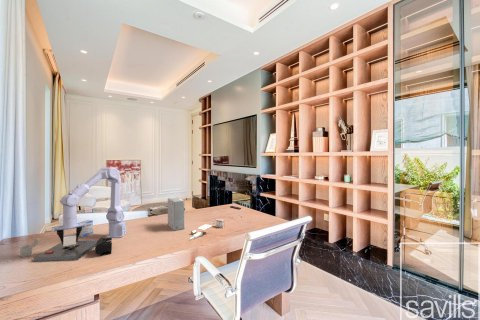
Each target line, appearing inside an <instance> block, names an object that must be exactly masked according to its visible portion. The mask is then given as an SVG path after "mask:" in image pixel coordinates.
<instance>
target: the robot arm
mask: <svg viewBox="0 0 480 320" xmlns="http://www.w3.org/2000/svg"><path fill="white" fill-rule="evenodd" d="M101 180H108V181H109V182H110V207H109V208H108V209H107V213H106V215H105V218H106V220H107V221H108V235H107V236H105V238H110V237H112V239H113V238H123V237H124V236H125V235H126V234H127V222H126V221H123V220H124V219H125V213H124V209H123V208H122V206H121V196H122V195H121V193H122V177H121V175H120V170H119V169H117V168H116V167H106V166H103V167H102V168H100V169H99V170H97V171H96V172H95V174H94V175H93V176H91V177H90V178H89V179H88V180H87V181H86V182H85V183H81V184H77V185H76V187H75V188H74V189H72V191H68V194H65V195H63V196H62V197H61V198H60V200H59V203H60V204H61V206H62V225H59V226H54V227H51V233H55V232H56V235H57V236H58V237H59V239H60V241H61V242H62V245H63V237H64V235H65V233H64V232H65V231H67V230H73V229H75V233H76V242H78V241H79V238H80V237H79V234H80V232H81V230H82V227H87V223H80V222H77V221H78V219H77V205H78V204H79V202H80V200H81V199H82V198H83V197H84V196H86V194H88V193H89V191H90V188H92V187H93V186H94V185H95V184H97V183H98V182H100V181H101ZM61 242H60V243H61Z"/></svg>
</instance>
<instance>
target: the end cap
mask: <svg viewBox="0 0 480 320" xmlns="http://www.w3.org/2000/svg"><path fill="white" fill-rule="evenodd" d="M97 240H98V241H97V243H96V247H95V248H94V252H95V253H96V255H98V256H100V257H104V256H108V255H109V256H110V255H111V254H112V250H113V242H112V241H113V238H112V237H110V238H106V237H105V238H104V236H101V237H100V238H98V239H97Z"/></svg>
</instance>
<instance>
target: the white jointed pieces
mask: <svg viewBox="0 0 480 320" xmlns="http://www.w3.org/2000/svg"><path fill="white" fill-rule="evenodd" d="M212 224H213V225H215V226H216V228H220V229H224V228H225V220H224V219H221V218H220V219H219V218H216V219H215V221H212ZM213 225H211V224H208V223H205V224H203V225H201V226H199V227H197V229H198V230H201V231H198V232H197V230H196V229H193V230H191V231H190V234H191V235H192V236H191V237H189V241H191V240H194V239H195V240H196V239H198V238H200V237H202V236H203V231H205V230H207V229H209V228H211V227H213Z"/></svg>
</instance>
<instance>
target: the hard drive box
mask: <svg viewBox="0 0 480 320" xmlns="http://www.w3.org/2000/svg"><path fill="white" fill-rule="evenodd" d="M167 226H169V228H171V229H172V231H179V230H184V229H185V200H184V199H182V198H179V197H168V198H167Z"/></svg>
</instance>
